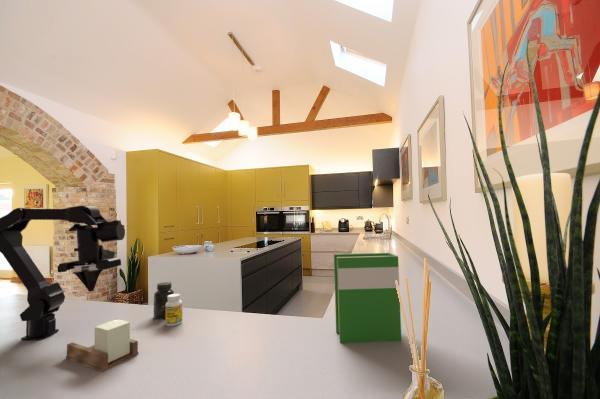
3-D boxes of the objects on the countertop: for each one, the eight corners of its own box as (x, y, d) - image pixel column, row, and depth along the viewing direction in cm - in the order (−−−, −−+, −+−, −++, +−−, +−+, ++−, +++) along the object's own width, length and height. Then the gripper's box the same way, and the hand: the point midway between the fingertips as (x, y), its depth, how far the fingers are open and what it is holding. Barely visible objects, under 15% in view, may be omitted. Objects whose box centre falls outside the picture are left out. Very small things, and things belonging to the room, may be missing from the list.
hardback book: (340, 343, 79) (337, 258, 80) (336, 332, 86) (333, 254, 87) (401, 340, 79) (398, 256, 80) (392, 330, 87) (389, 252, 88)
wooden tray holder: (65, 358, 73) (66, 344, 74) (102, 343, 82) (103, 331, 82) (101, 372, 67) (102, 356, 67) (138, 354, 75) (138, 340, 75)
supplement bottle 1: (165, 320, 99) (165, 286, 100) (149, 319, 100) (149, 285, 101) (177, 313, 106) (177, 281, 106) (162, 312, 107) (162, 281, 108)
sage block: (94, 358, 71) (94, 326, 71) (116, 348, 76) (116, 319, 76) (107, 363, 69) (107, 330, 69) (129, 352, 74) (129, 322, 74)
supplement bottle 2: (183, 319, 99) (183, 292, 100) (180, 325, 94) (180, 296, 94) (167, 321, 98) (167, 293, 99) (163, 327, 93) (163, 298, 93)
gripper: (131, 238, 98) (134, 282, 98) (86, 242, 101) (88, 285, 100) (105, 242, 87) (108, 292, 87) (54, 247, 90) (57, 295, 89)
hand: (91, 291), depth 91 cm, fingers closed
